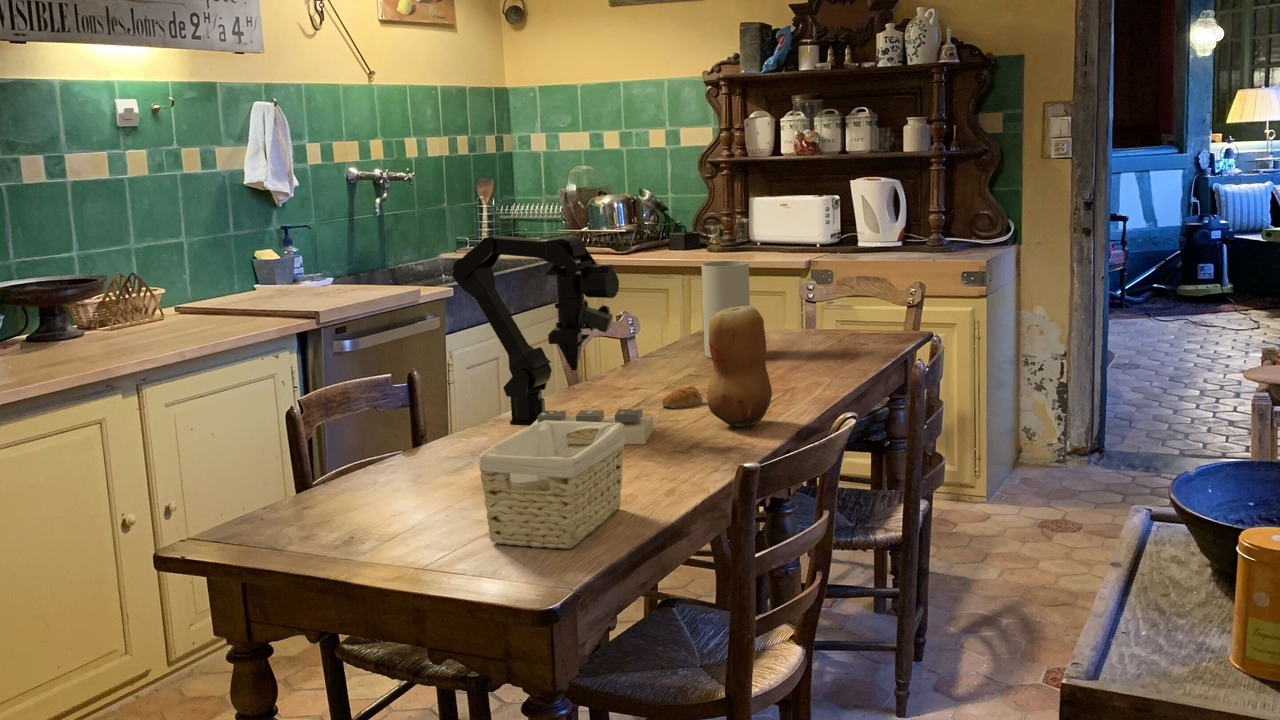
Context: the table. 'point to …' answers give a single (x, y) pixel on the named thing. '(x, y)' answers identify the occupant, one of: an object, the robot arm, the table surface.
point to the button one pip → (590, 416)
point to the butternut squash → (738, 367)
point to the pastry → (683, 398)
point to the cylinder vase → (723, 290)
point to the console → (632, 430)
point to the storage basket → (552, 483)
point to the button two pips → (628, 415)
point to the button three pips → (551, 416)
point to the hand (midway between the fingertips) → (574, 370)
